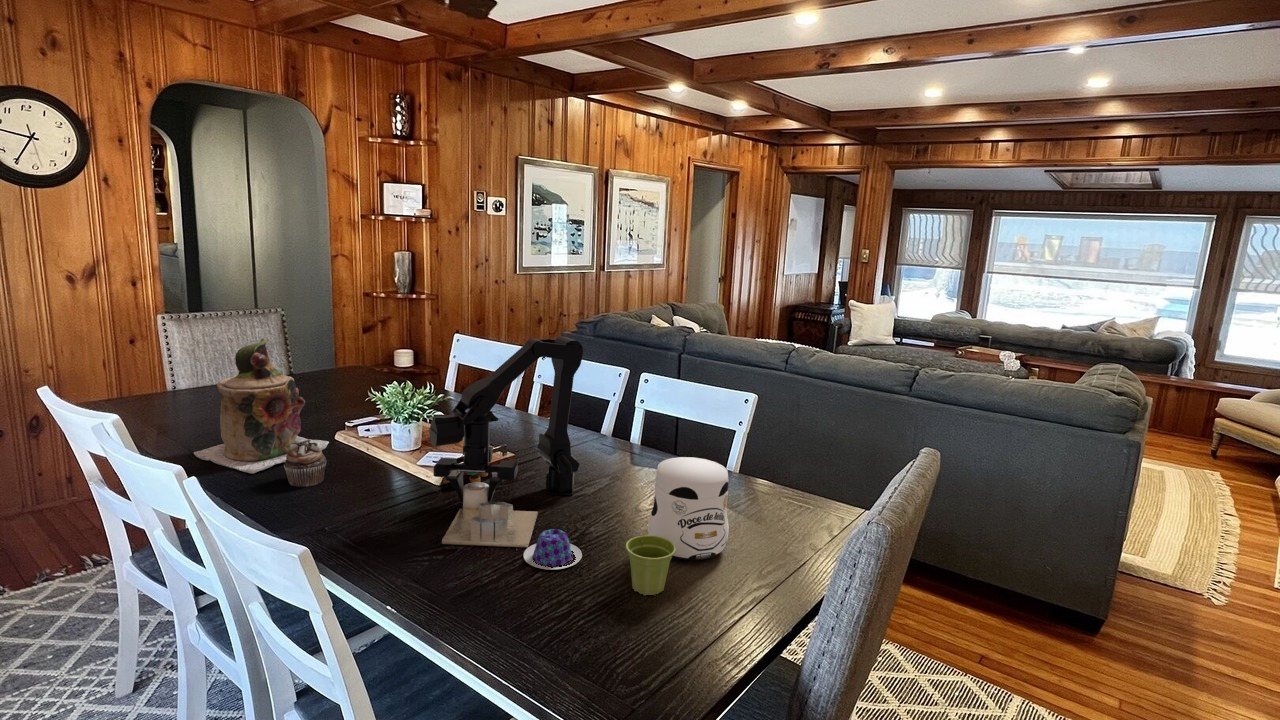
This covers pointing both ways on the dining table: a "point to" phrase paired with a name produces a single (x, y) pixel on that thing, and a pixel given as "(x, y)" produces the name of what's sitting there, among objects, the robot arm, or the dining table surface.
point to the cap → (475, 494)
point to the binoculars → (472, 473)
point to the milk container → (691, 507)
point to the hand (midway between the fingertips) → (476, 502)
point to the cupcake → (305, 464)
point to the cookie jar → (257, 414)
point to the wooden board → (491, 526)
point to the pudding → (552, 550)
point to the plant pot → (649, 563)
